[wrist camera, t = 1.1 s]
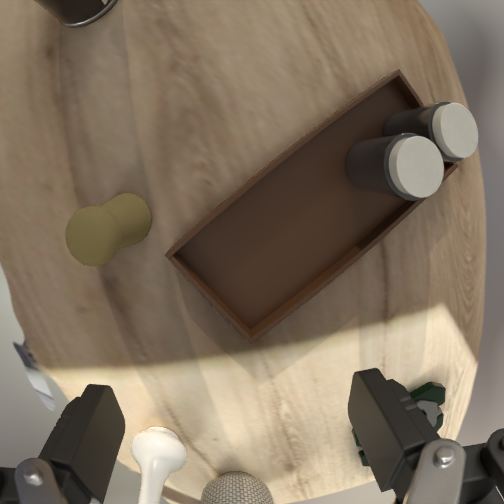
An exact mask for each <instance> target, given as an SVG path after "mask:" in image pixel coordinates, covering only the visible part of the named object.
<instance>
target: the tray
mask: <svg viewBox="0 0 504 504" xmlns="http://www.w3.org/2000/svg"><path fill="white" fill-rule="evenodd" d="M421 106H424V105H423V103H422V102H421V100H420V99H419V97H418V96H417V94H416V93H415V91H414V90H413V88H412V87H411V85H410V84H409V82H408V81H407V80H406V78H405V77H404V76H403V74H402V73H401V71H400V70H399V69H398V70H396V71H394V72H392V73H391V74H389V75H387V76H386V77H384V78H383V79H382V80H380V81H379V82H377V83H376V84H374V85H373V86H371V87H370V88H369V89H367V90H366V91H364V92H363V93H362V94H360V95H359V96H357V97H356V98H355V99H353V100H352V101H350V102H349V103H348V104H346V105H345V106H344V107H342V108H341V109H340V110H338V111H337V112H335V113H334V114H333V115H331V116H330V117H329V118H327V119H326V120H325V121H323V122H322V123H321V124H319V125H318V126H317V127H315V128H314V129H313V130H312V131H310V132H309V133H308V134H306V135H305V136H304V137H302V138H301V139H300V140H299V141H297V142H296V143H295V144H293V145H292V146H291V147H290V148H288V149H287V150H286V151H284V152H283V153H282V154H281V155H279V156H278V157H277V158H276V159H274V160H273V161H272V162H271V163H269V164H268V165H267V166H266V167H264V168H263V169H262V170H261V171H260V172H258V173H257V174H256V175H255V176H253V177H252V178H251V179H250V180H249V181H247V182H246V183H245V184H244V185H243V186H241V187H240V188H239V189H238V190H237V191H235V192H234V193H233V194H232V195H231V196H229V197H228V198H227V199H226V200H225V201H224V202H222V203H221V204H220V205H219V206H218V207H217V208H215V209H214V210H213V211H212V212H211V213H210V214H208V215H207V216H206V217H205V218H204V219H203V220H202V221H200V222H199V223H198V224H197V225H196V226H195V227H194V228H192V229H191V230H190V231H189V232H188V233H187V234H186V235H185V236H183V237H182V238H181V239H180V240H179V241H178V242H177V243H176V244H174V245H173V246H172V247H171V248H170V249H169V250H168V252H167V253H166V254H165V256H166V257H167V258H168V259H169V260H170V261H171V262H172V263H173V265H174V266H175V267H176V268H177V269H178V270H179V271H180V272H181V273H182V274H183V275H184V276H185V277H186V278H187V280H188V281H189V282H190V283H191V284H192V285H193V286H194V287H195V288H196V289H197V290H198V291H199V292H200V293H201V294H202V295H203V296H204V297H205V298H206V299H207V300H208V301H209V302H210V303H211V304H212V306H213V307H214V308H215V309H216V310H217V311H218V312H219V313H220V314H221V315H222V316H223V317H224V318H225V319H226V320H227V321H228V322H229V323H230V324H231V325H232V326H233V327H234V328H235V329H236V330H237V331H238V332H240V333H241V334H242V335H243V336H244V337H245V338H246V339H247V340H248V341H249V342H250V343H252V342H254V341H255V340H256V339H258V338H259V337H261V336H262V335H263V334H265V333H266V332H267V331H269V330H270V329H271V328H273V327H274V326H275V325H277V324H278V323H279V322H281V321H282V320H283V319H285V318H286V317H287V316H289V315H290V314H291V313H293V312H294V311H295V310H296V309H298V308H299V307H300V306H302V305H303V304H304V303H305V302H307V301H308V300H309V299H310V298H312V297H313V296H314V295H315V294H317V293H318V292H319V291H320V290H322V289H323V288H324V287H325V286H327V285H328V284H329V283H330V282H332V281H333V280H334V279H335V278H336V277H338V276H339V275H340V274H341V273H343V272H344V271H345V270H346V269H347V268H349V267H350V266H351V265H352V264H353V263H354V262H356V261H357V260H358V259H359V258H360V257H362V256H363V255H364V254H365V253H366V252H367V251H368V250H370V249H371V248H372V247H373V246H374V245H375V244H377V243H378V242H379V241H380V240H381V239H382V238H383V237H384V236H386V235H387V234H388V233H389V232H390V231H391V230H392V229H393V228H395V227H396V226H397V225H398V224H399V223H400V222H401V221H402V220H403V219H404V218H405V217H407V216H408V215H409V214H410V213H411V212H412V211H413V210H414V209H415V208H416V207H417V206H418V205H419V204H420V203H422V202H423V201H424V200H425V199H426V198H427V197H424V198H422V199H419V200H413V201H412V200H406V199H401V198H396V197H392V196H387V195H382V194H377V193H372V192H366V191H362V190H360V189H358V188H356V187H355V186H354V185H353V184H352V183H351V182H350V180H349V179H348V177H347V174H346V171H345V158H346V155H347V152H348V151H349V149H350V148H351V147H352V146H353V145H354V144H355V143H357V142H359V141H363V140H368V139H374V138H379V137H383V136H382V131H383V126H384V123H385V121H386V120H387V118H388V117H390V116H391V115H393V114H396V113H399V112H403V111H406V110H410V109H413V108H417V107H421ZM443 164H444V174H443V179H442V182H443V181H444V180H445V179H446V178H447V177H448V176H449V175H450V174H451V173H452V172H453V171H454V170H455V169H456V168H457V167H458V165H457V163H456V162H443ZM442 182H441V183H442Z"/></svg>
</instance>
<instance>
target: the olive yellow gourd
mask: <svg viewBox="0 0 504 504" xmlns="http://www.w3.org/2000/svg"><path fill="white" fill-rule="evenodd" d="M151 221H152V218H151V211H150V209H149V207H148V205H147V203H146V202H145V201H144V200H143V199H142V198H141V197H139V196H137V195H136V194H132V193H122V194H118V195H117V196H115V197H113V198H112V199H110V200H109V201H107V202H106V203H104V204H103V205H101V206H100V207H99V206H89V207H84V208H82V209H80V210H79V211H77V212H76V213H75V214H74V215H73V216H72V217H71V219H70V220H69V222H68V225H67V228H66V243H67V247H68V249H69V251H70V253H71V254H72V256H73V257H74V258H75V259H76V260H77V261H79V262H81V263H82V264H84V265H88V266H99V265H103V264H105V263H107V262H108V261H110V260H111V259H112V258H113V257H114V256H115V254H116V253H117V251H118V249H121V248H124V247H127V246H130V245H133V244H136V243H138V242H140V241H142V240H143V239H144V238H145V237H146V236H147V234H148V232H149V230H150V228H151Z"/></svg>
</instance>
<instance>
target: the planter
mask: <svg viewBox="0 0 504 504" xmlns="http://www.w3.org/2000/svg"><path fill="white" fill-rule="evenodd" d="M200 504H274V502H273V499H272V496H271V493H270V491H269V489H268V487H267V486H266V485H265V484H264V483H263V482H262V481H260V480H259V479H256V478H254V477H253V476H251V475H250V474H248V473H244V472H228V473H224V474H222V475H220V476H219V477H218V478H216V479H214V480H212V481H211V482H209V483H208V484H207V485H206V487H205V488H204V490H203V493H202V497H201V501H200Z"/></svg>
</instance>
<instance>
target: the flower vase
mask: <svg viewBox="0 0 504 504" xmlns="http://www.w3.org/2000/svg"><path fill="white" fill-rule="evenodd" d="M130 451H131V454H132V456H133V458H134V460H135V461H136V462H137V463H138V465H139V467H140V470H141V487H140V493H139V499H138V504H159V503H160V498H161V493H162V489H163V486H164V483H165V481H166V479H167V478H168V476H169V475H170V474H172V473H174V472H176V471H178V470H180V469H181V468H182V467H183V466H184V465H185V463H186V461H187V457H188V454H187V450H186V448H185V446H184V445H183V443H182V442H181V441H180V440H179V437H178V436H177V435H176V434H175V433H174V432H173V431H171V430H169V429H167V428H163V427H157V426H155V427H149V428H147V429H146V430H145V431H142V432H140V433H138V434H136V435H135V436H134V437H133V438H132V440H131V442H130ZM90 504H93V503H90Z"/></svg>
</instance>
